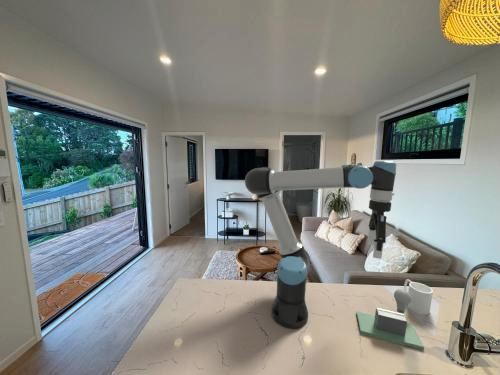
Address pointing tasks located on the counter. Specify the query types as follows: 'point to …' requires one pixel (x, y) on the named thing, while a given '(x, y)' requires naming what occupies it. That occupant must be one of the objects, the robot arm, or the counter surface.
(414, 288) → the cup
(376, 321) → the block
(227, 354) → the counter surface
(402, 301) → the lightbulb
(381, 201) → the robot arm
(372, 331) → the board
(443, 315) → the counter surface
